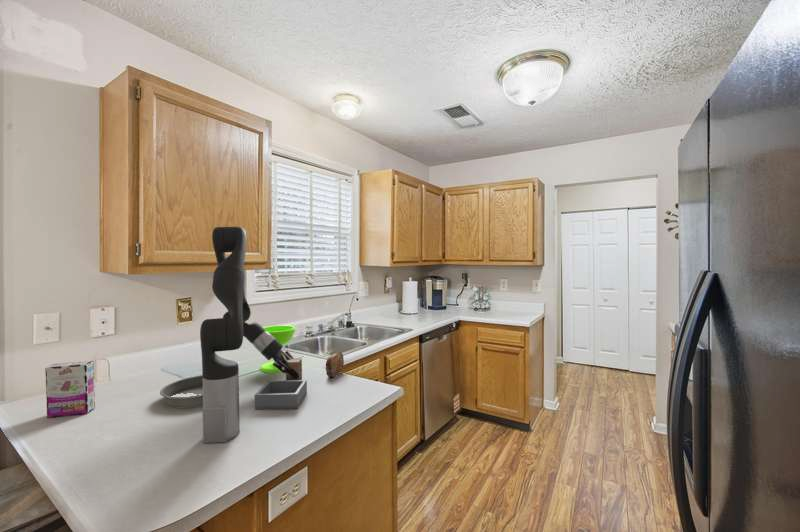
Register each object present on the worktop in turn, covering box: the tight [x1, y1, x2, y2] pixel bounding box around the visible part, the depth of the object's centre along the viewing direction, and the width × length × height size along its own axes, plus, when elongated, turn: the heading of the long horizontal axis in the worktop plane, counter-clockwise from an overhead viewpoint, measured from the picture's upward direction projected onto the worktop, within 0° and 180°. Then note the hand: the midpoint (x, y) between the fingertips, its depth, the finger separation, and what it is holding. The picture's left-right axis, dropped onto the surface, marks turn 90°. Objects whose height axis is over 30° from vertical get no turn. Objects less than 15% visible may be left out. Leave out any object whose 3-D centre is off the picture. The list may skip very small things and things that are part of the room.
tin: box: [325, 352, 345, 378], centre depth 158 cm, size 15×3×8 cm, turn 168°
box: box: [254, 379, 308, 411], centre depth 128 cm, size 14×14×5 cm
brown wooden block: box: [285, 358, 303, 381], centre depth 144 cm, size 5×5×10 cm
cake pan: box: [159, 374, 203, 408], centre depth 134 cm, size 25×25×4 cm
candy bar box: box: [44, 360, 96, 419], centre depth 120 cm, size 11×5×16 cm, turn 105°
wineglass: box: [259, 325, 296, 374], centre depth 168 cm, size 16×16×18 cm
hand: (298, 374), depth 144 cm, fingers closed on brown wooden block, 5 cm apart
